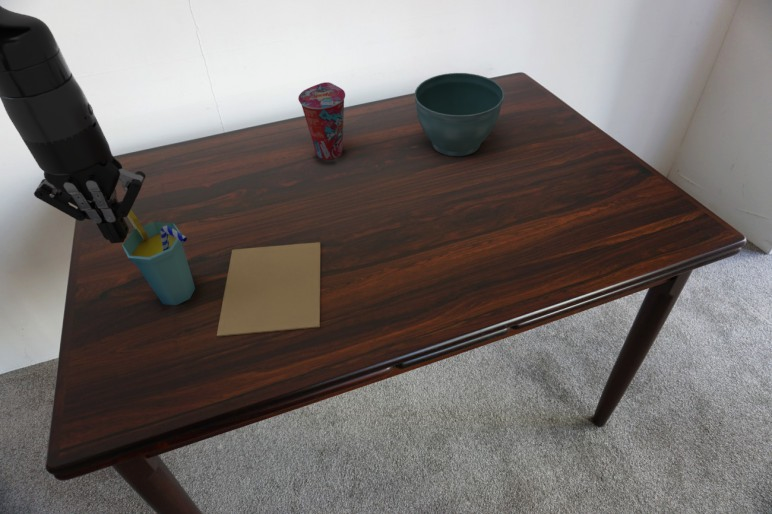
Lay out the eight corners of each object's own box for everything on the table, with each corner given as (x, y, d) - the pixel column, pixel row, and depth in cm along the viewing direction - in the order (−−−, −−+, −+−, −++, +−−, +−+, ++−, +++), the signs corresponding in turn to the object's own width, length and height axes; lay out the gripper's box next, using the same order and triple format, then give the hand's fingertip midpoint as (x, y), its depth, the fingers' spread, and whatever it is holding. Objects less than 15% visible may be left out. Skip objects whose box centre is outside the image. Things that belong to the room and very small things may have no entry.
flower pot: (448, 178, 95) (451, 124, 87) (398, 139, 105) (397, 88, 97) (514, 148, 101) (523, 96, 93) (461, 114, 111) (465, 65, 103)
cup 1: (234, 294, 76) (205, 216, 66) (195, 331, 72) (157, 253, 61) (168, 261, 82) (132, 184, 71) (128, 294, 77) (83, 216, 67)
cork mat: (217, 336, 71) (216, 335, 71) (232, 250, 83) (232, 249, 83) (319, 327, 71) (319, 326, 71) (320, 243, 84) (320, 242, 83)
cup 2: (357, 158, 100) (351, 100, 92) (315, 169, 98) (305, 111, 90) (341, 134, 107) (335, 78, 98) (301, 144, 105) (291, 88, 96)
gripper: (-23, 145, 54) (58, 263, 66) (108, 134, 54) (164, 254, 66) (8, 109, 59) (78, 224, 71) (127, 99, 59) (176, 216, 72)
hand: (119, 238), depth 69 cm, fingers closed
